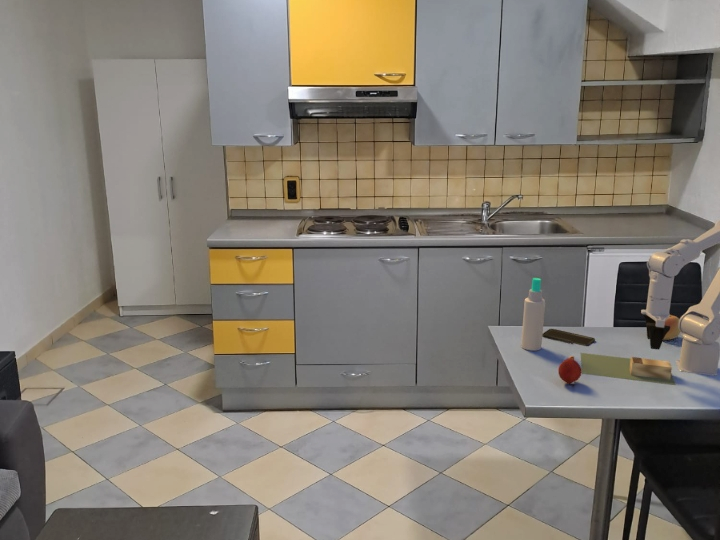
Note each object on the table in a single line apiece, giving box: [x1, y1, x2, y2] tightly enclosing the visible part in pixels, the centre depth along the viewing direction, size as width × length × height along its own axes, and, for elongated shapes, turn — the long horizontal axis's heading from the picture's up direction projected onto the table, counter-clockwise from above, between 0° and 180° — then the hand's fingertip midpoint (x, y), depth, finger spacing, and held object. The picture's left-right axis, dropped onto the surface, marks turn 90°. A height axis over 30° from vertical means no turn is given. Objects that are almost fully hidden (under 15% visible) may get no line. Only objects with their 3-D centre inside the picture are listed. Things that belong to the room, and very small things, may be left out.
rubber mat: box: [580, 352, 677, 386], centre depth 183 cm, size 24×16×1 cm, turn 73°
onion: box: [558, 355, 582, 385], centre depth 173 cm, size 6×6×8 cm
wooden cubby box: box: [629, 356, 673, 380], centre depth 179 cm, size 10×4×4 cm, turn 73°
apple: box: [663, 314, 681, 341], centre depth 207 cm, size 9×9×8 cm
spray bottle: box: [520, 277, 546, 352], centre depth 196 cm, size 6×6×22 cm
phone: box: [542, 328, 596, 347], centre depth 207 cm, size 8×1×15 cm
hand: (653, 343), depth 177 cm, fingers open, 7 cm apart
